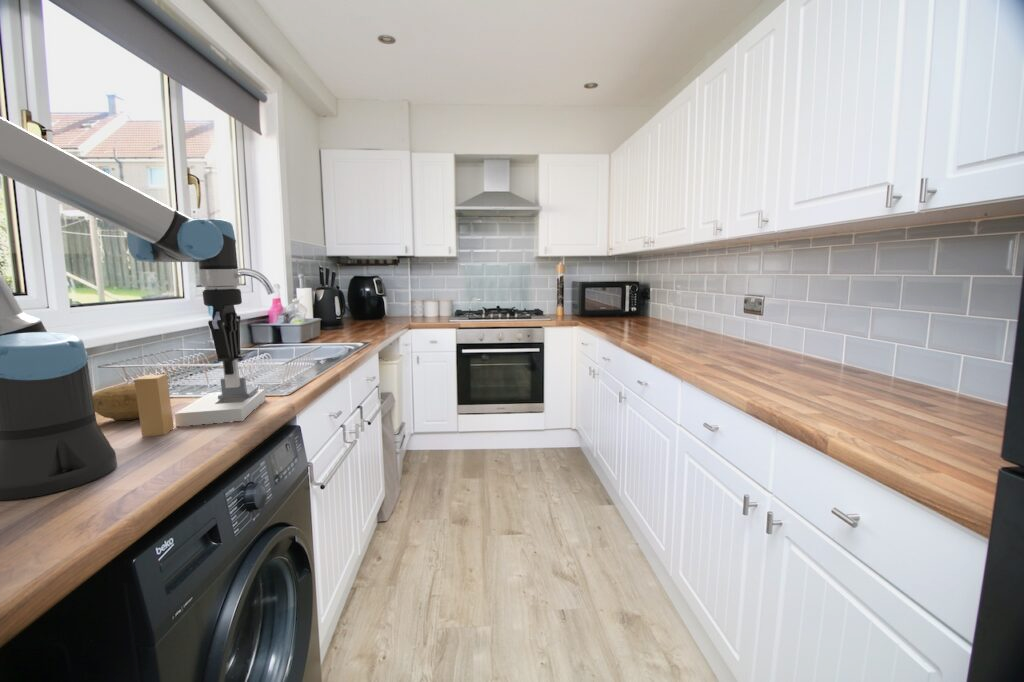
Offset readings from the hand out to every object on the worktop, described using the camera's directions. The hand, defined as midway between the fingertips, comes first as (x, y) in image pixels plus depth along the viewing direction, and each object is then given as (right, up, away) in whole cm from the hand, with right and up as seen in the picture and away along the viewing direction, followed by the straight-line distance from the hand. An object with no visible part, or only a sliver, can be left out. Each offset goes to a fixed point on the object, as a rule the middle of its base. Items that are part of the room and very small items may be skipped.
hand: (233, 386), depth 108 cm
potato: (-21, -7, -3) cm, 23 cm away
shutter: (-1, -2, +4) cm, 5 cm away
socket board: (-2, -6, 0) cm, 7 cm away
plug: (-8, -8, -13) cm, 17 cm away
